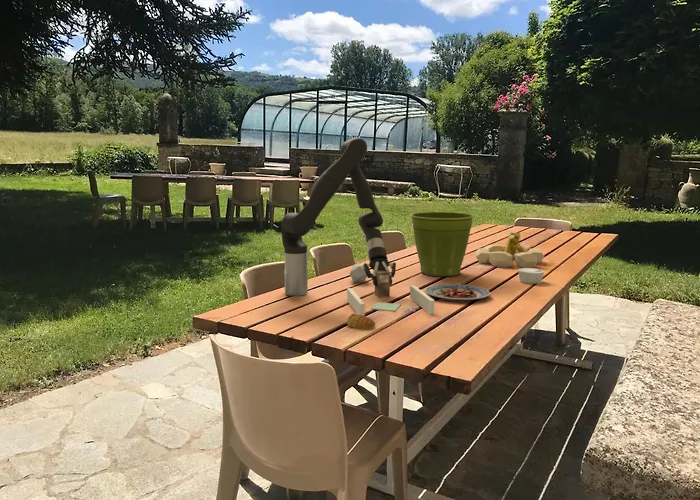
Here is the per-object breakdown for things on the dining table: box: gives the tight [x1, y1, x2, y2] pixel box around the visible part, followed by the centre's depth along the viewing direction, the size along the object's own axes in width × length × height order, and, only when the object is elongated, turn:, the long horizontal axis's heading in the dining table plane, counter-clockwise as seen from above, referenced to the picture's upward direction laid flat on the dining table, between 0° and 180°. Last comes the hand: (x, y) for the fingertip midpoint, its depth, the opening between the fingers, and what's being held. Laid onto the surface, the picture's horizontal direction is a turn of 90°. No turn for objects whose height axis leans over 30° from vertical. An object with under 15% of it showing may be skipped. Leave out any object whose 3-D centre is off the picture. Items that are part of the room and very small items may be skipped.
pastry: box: [346, 313, 376, 330], centre depth 180 cm, size 9×7×4 cm
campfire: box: [474, 232, 545, 269], centre depth 294 cm, size 35×34×17 cm
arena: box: [346, 285, 436, 317], centre depth 204 cm, size 27×24×5 cm
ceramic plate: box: [425, 283, 491, 302], centre depth 221 cm, size 26×26×3 cm
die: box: [349, 264, 368, 283], centre depth 247 cm, size 8×9×10 cm
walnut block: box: [374, 270, 391, 298], centre depth 221 cm, size 5×5×10 cm
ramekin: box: [517, 267, 545, 285], centre depth 248 cm, size 11×11×5 cm
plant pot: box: [410, 211, 474, 277], centre depth 264 cm, size 30×30×29 cm
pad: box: [371, 302, 402, 312], centre depth 204 cm, size 9×9×1 cm
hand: (383, 285), depth 219 cm, fingers closed on walnut block, 5 cm apart
